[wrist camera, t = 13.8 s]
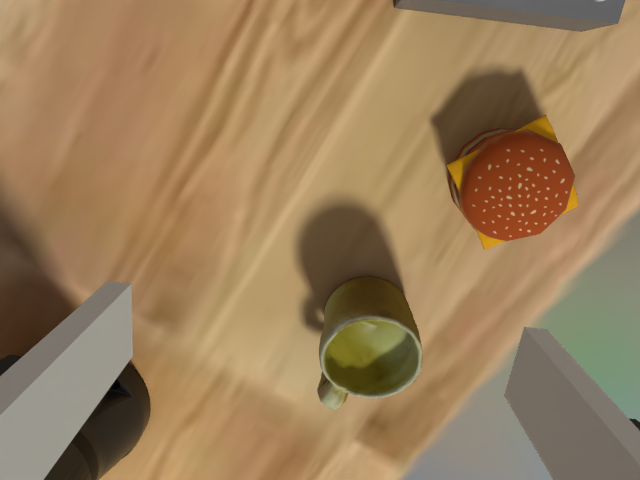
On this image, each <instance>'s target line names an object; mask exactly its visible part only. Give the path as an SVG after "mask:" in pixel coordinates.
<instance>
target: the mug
mask: <svg viewBox="0 0 640 480" xmlns="http://www.w3.org/2000/svg"><path fill="white" fill-rule="evenodd" d="M422 356H423V355H422V346H421V341H420V336H419V331H418V329H417V325H416V323H415V321H414V319H413V315H412V312H411V310H410V308H409V305H408V302H407V300H406V298H405V296H404V295H403V293H402V292H401V291H400V290H399V289H398V288H397V287H396V286H394V285H393V284H391V283H390V282H388V281H386V280H383V279H379V278H375V277H359V278H355V279H351V280H348V281H346V282H345V283H343V284H342V285H340V286H339V287H338V288H337V289H336V290H335V291H334V292H333V293H332V295H331V296H330V298H329V300H328V302H327V304H326V306H325V310H324V326H323V331H322V335H321V339H320V346H319V358H320V365H321V369H322V371H323V372H322V374H321V380H320V383H319V387H318V395H319V398H320V401H321V402H322V403H323V404H324V405H326V406H327V407H329V408H330V409H332V410H334V409H336V408H338V407H340V406H341V405H342V404H343V403H344V402H345V401H346V398H347V395H348V393H350V394H353V395H355V396H357V397H363V398H384V397H389V396H391V395H394V394H396V393H398V392H400V391H402V390H404V389H405V388H407V387H408V386H409V385H411V384H412V383H413V382H414V381H415V380H416V378H417V377H418V375H419V373H420V371H421V368H422Z"/></svg>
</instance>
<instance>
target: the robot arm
mask: <svg viewBox="0 0 640 480" xmlns="http://www.w3.org/2000/svg"><path fill="white" fill-rule="evenodd" d="M132 356H133V342H132V291H131V284H128V283H119V282H110V281H108V282H106V283H105V284H104V285H103V286H102V287H101V288H100V289H99V290H97V291H96V292H95V293H94V294H93V295H92V296H91V297H89V298H88V299H87V300H86V301H85V302H84V303H83V304H82V305H80V306H79V307H78V308H77V309H76V310H75V311H74V312H72V313H71V314H70V315H69V316H68V317H67V318H66V319H65V320H63V321H62V322H61V323H60V324H59V325H58V326H57V327H56V328H54V329H53V330H52V331H51V332H50V333H49V334H48V335H46V336H45V337H44V338H43V339H42V340H41V341H40V342H39V343H37V344H36V345H35V346H34V347H33V348H32V349H31V350H29V351H28V352H27V353H26V354H25V355H24V356H16V355H9V356H7V357H5V358H3V359H1V360H0V480H99V479H100V478H101V477H102V476H104V475H105V474H106V473H107V472H108V471H109V470H110V469H111V468H112V467H114V466H115V465H116V464H117V463H118V462H119V461H120V460H121V459H122V458H124V457H125V456H126V455H128V454H129V453H130V452H131V451H132V449H133V448H134V447H135V446H136V444H137V443H138V441H139V439H140V437H141V436H142V434H143V432H144V430H145V428H146V426H147V424H148V421H149V417H150V399H149V395H148V392H147V389H146V387H145V385H144V383H143V381H142V379H141V378H140V376H139V375H138V374H137V372H136V371H135V370H134V369H133V368H132V367H131V366H130V365H129V364H128V362H129V361H130V359H131V358H132ZM504 396H505V398H506V399H507V401H508V403H509V404H510V406H511V408H512V410H513V411H514V413H515V415H516V416H517V418H518V420H519V422H520V423H521V425H522V427H523V428H524V430H525V432H526V433H527V435H528V437H529V439H530V440H531V442H532V444H533V446H534V447H535V449H536V451H537V453H538V454H539V456H540V458H541V459H542V461H543V463H544V464H545V466H546V468H547V470H548V471H549V473H550V475H551V477H552V478H553V480H640V422H638V421H637V420H636V419H629V418H628V417H627V416H626V415H625V414H624V413H623V412H622V411H621V410H620V409H619V408H618V406H617V405H616V404H615V403H614V402H613V401H612V400H611V399H610V398H609V397H608V396H607V395H606V393H605V392H604V391H603V390H602V389H601V388H600V387H599V386H598V385H597V384H596V383H595V381H594V380H593V379H592V378H591V377H590V376H589V375H588V374H587V373H586V372H585V371H584V369H583V368H582V367H581V366H580V365H579V364H578V363H577V362H576V361H575V360H574V359H573V358H572V356H571V355H570V354H569V353H568V352H567V351H566V350H565V349H564V348H563V347H562V346H561V344H560V343H559V342H558V341H557V340H556V339H555V338H554V337H553V336H552V335H551V334H550V333H549V331H548V330H546V329H538V328H529V327H524V330H523V333H522V337H521V340H520V343H519V347H518V350H517V354H516V357H515V360H514V364H513V367H512V371H511V374H510V377H509V382H508V384H507V388H506V391H505V395H504Z"/></svg>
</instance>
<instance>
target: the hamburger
mask: <svg viewBox="0 0 640 480" xmlns="http://www.w3.org/2000/svg"><path fill="white" fill-rule="evenodd" d="M446 166H447V168H448V169H449V171H450V173H451V176H450V182H449V186H450V190H451V194H452V198H453V202H454V203H455V204H456V206H457V207H458V208H459V209H460V211H461V212H462V213H463V215H464V217H465V218H466V219H467V220H468V222H469V223H470V224H471V225H472V227H473V228H474V229H476V231H477V233H478V236H479V238H480V240H481V243H482V246H483V249H487V248H489V247H492V246H494V245H497V244H499V243H502V242H504V241H509V240H514V239H519V238H523V237H528V236H533V235H537V234H540V233H542V232H543V231H544V230H545V229H546V228H547V227H548V226H549V225H550V224H551V223H552V222H553V221H554V220H555V219H557V218H558V217H559V216H560V215H562V214H564V213H565V212H567V211H569V210H571V209H573V208H575V207H576V206H578V200H577V194H576V191H575V188H574V185H573V182H574V178H575V175H574V173H573V170H572V168H571V166H570V163H569V161H568V159H567V157H566V154H565V152H564V150H563V147H562V145H561V144H560V143H558V141H557V138H556V136H555V133H554V131H553V128H552V126H551V125H550V123H549V121H548V119H547V117H546V115H544V116H542V117H540V118H538V119H537V120H535V121H533V122H531V123H529V124H527V125H526V126H524V127H522V128H520V129H518V130H513V129H501V128H498V129H495V130H492V131H489V132H485V133H482V134H479V135H478V136H477V137H476V138H474V139H473V140H472V141H470V142H469V143H468V144H467V145H465V146H464V147H463V148H462V150H461V151H460V153H459V155H458V156H457V158H456V160H455V161H454V162H452V163H449V164H447V165H446Z"/></svg>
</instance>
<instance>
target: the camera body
mask: <svg viewBox="0 0 640 480" xmlns="http://www.w3.org/2000/svg"><path fill="white" fill-rule="evenodd" d="M624 2H625V0H395V7H394V8H400V9H407V10H415V11H423V12H431V13H439V14H447V15H455V16H463V17H470V18H478V19H486V20H494V21H502V22H510V23H518V24H526V25H534V26H541V27H549V28H557V29H565V30H573V31H581V32H582V31H587V30H591V29H596V28H600V27H605V26H609V25H613V24H618V22H619V19H620V15H621V12H622V9H623V5H624Z"/></svg>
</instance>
